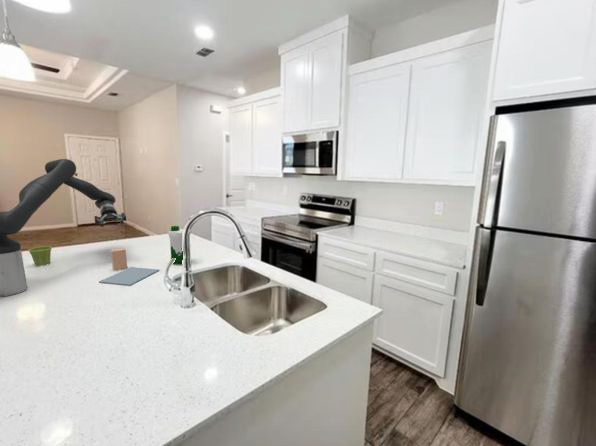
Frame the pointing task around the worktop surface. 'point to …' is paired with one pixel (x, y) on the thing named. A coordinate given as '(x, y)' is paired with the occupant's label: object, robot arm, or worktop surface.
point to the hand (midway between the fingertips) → (112, 224)
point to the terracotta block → (119, 259)
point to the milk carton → (176, 244)
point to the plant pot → (41, 255)
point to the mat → (129, 276)
